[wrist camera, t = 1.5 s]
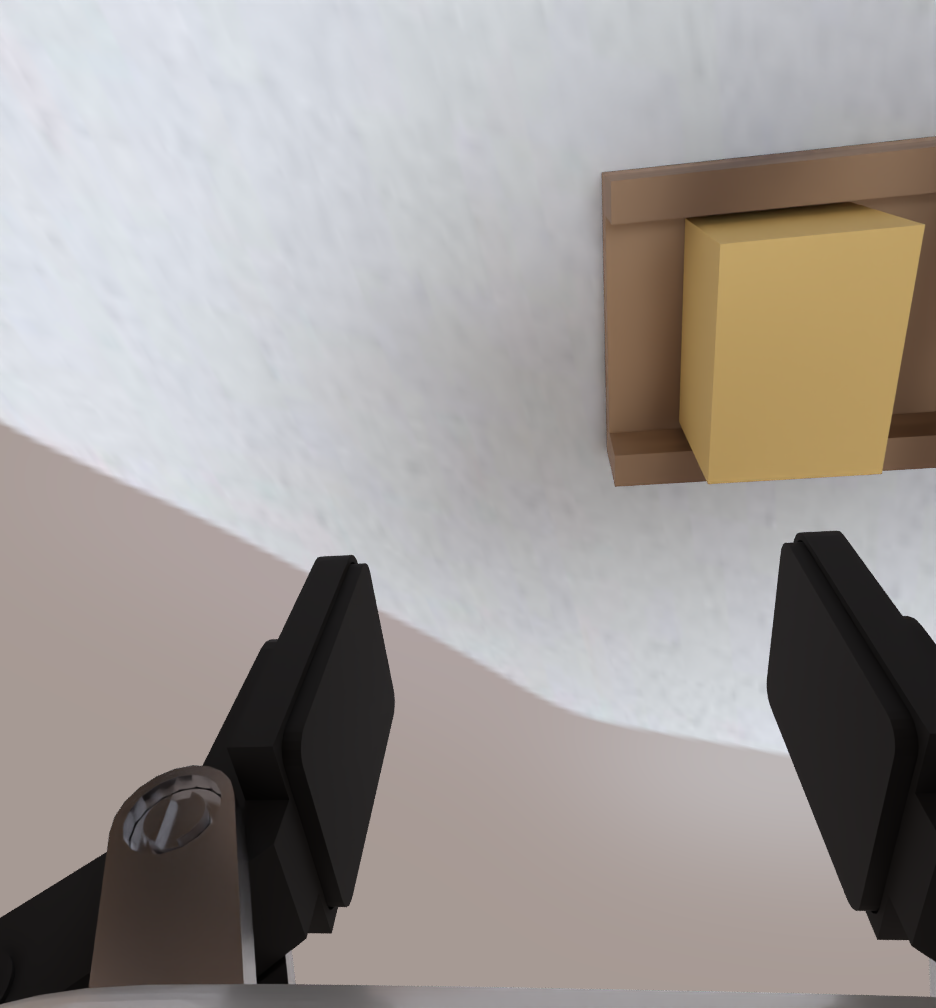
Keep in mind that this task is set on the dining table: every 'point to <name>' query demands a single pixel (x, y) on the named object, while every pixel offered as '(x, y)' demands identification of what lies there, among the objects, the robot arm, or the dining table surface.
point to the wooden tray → (660, 270)
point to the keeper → (794, 339)
